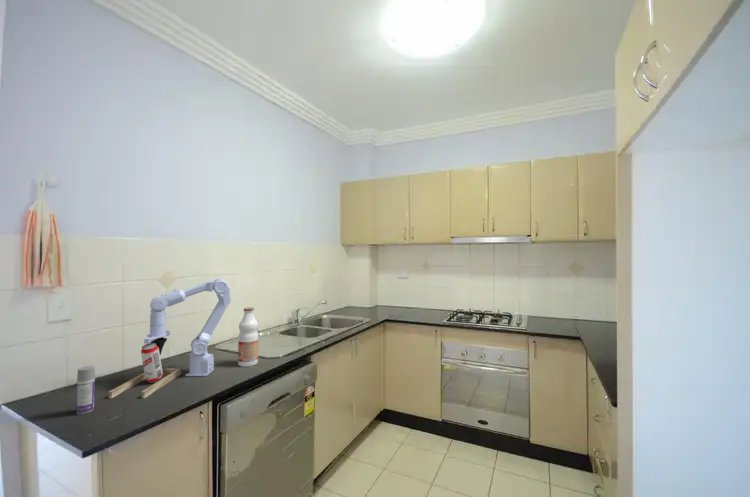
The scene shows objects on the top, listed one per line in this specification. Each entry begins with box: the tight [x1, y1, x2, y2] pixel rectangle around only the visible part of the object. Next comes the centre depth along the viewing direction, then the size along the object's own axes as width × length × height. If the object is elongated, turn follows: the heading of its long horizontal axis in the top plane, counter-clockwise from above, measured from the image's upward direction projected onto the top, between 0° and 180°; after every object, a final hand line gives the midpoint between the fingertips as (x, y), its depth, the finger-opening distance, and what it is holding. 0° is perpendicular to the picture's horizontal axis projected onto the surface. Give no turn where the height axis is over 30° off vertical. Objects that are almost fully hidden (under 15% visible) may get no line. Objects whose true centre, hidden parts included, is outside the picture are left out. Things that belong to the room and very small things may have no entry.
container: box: [75, 365, 96, 415], centre depth 115 cm, size 5×5×15 cm
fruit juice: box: [237, 306, 259, 368], centre depth 165 cm, size 9×9×28 cm
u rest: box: [108, 368, 182, 399], centre depth 137 cm, size 13×25×2 cm, turn 2°
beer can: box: [140, 343, 164, 384], centre depth 140 cm, size 6×6×16 cm
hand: (157, 355), depth 143 cm, fingers closed
